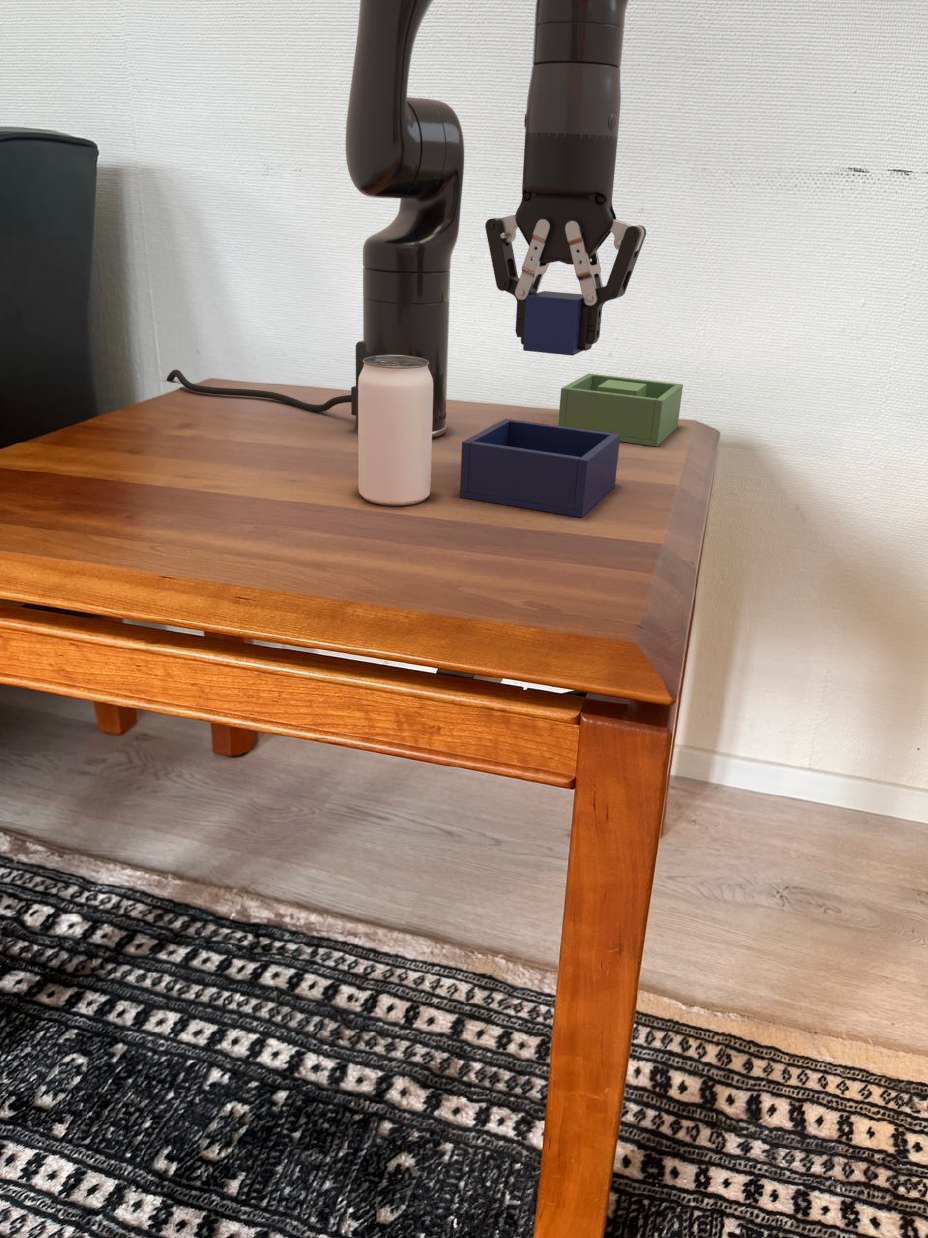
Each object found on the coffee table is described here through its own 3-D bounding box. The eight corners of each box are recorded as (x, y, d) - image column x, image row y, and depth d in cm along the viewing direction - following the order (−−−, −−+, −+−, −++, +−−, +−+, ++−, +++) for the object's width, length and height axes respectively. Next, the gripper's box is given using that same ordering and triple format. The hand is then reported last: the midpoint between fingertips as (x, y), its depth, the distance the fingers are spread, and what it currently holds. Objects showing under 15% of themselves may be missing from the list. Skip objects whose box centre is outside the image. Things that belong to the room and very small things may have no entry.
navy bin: (459, 497, 89) (461, 441, 87) (502, 469, 98) (504, 418, 96) (582, 517, 85) (587, 460, 83) (614, 486, 94) (620, 434, 92)
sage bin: (557, 432, 113) (560, 387, 111) (584, 414, 122) (588, 373, 120) (657, 446, 109) (662, 400, 107) (677, 427, 118) (683, 384, 116)
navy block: (522, 350, 86) (525, 295, 84) (539, 343, 90) (543, 290, 88) (573, 355, 84) (577, 299, 82) (588, 348, 88) (593, 294, 86)
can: (420, 510, 85) (424, 369, 80) (349, 502, 86) (348, 364, 82) (437, 489, 91) (441, 357, 86) (370, 482, 92) (370, 351, 87)
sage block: (593, 426, 114) (597, 386, 112) (604, 418, 118) (608, 379, 116) (632, 431, 112) (637, 390, 110) (642, 423, 116) (646, 383, 114)
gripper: (669, 135, 81) (645, 348, 88) (505, 131, 86) (496, 333, 93) (647, 130, 74) (624, 361, 81) (472, 126, 79) (464, 344, 86)
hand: (555, 345), depth 87 cm, fingers closed on navy block, 4 cm apart
